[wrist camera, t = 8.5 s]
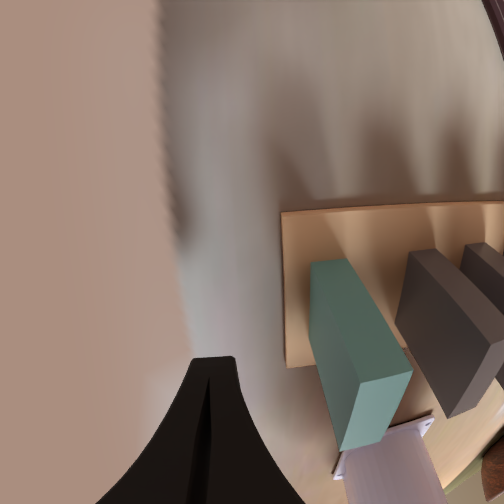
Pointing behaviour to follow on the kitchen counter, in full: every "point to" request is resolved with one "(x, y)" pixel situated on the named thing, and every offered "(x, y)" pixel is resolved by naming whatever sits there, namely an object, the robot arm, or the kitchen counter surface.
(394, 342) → the domino
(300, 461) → the kitchen counter surface
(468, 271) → the domino
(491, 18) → the chocolate bar
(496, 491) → the wooden bowl
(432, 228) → the cork strip
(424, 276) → the domino
